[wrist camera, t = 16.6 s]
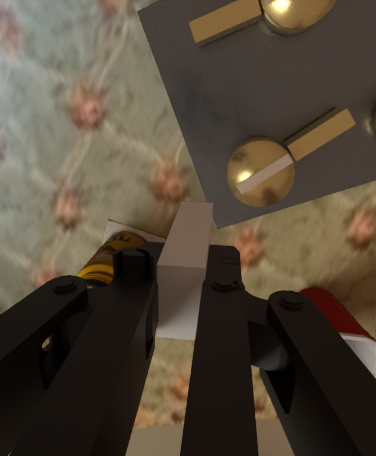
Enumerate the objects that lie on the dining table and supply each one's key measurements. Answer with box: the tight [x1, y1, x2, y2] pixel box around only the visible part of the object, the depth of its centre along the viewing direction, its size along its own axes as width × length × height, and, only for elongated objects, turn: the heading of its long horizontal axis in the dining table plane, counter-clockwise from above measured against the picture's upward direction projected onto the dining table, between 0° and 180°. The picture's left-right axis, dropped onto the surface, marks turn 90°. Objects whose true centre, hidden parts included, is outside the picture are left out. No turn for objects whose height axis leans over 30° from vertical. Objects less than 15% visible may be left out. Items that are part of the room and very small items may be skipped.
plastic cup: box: [299, 288, 376, 378], centre depth 37 cm, size 11×11×12 cm
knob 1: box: [189, 0, 336, 47], centre depth 29 cm, size 12×6×4 cm, turn 111°
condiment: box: [77, 220, 167, 288], centre depth 38 cm, size 7×8×12 cm
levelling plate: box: [137, 0, 376, 229], centre depth 34 cm, size 22×26×2 cm
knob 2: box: [227, 107, 356, 207], centre depth 33 cm, size 12×6×4 cm, turn 125°
